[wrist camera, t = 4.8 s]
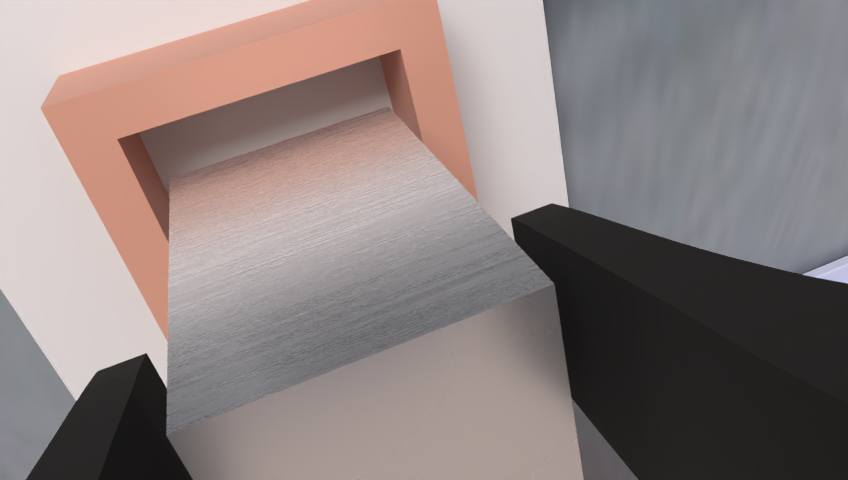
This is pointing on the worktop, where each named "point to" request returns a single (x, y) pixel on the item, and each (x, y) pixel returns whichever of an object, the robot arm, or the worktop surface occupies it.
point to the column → (358, 321)
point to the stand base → (231, 132)
